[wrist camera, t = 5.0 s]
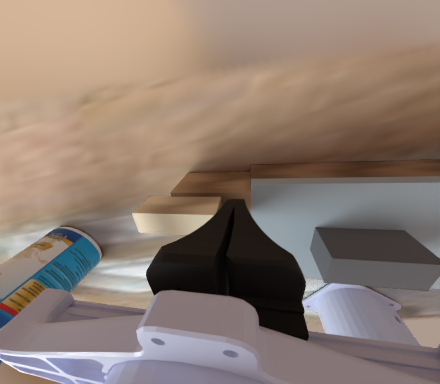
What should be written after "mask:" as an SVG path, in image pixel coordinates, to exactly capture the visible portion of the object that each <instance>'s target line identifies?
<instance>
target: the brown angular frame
mask: <svg viewBox="0 0 440 384" xmlns="http://www.w3.org/2000/svg"><path fill="white" fill-rule="evenodd" d="M419 176H440V159H436V160H400V161H365V162H329V163H294V164H258V165H250V171H249V172H202V173H187V175H186V176H185V177H184V178H183V179H182V180H181V181H180V183H179V184H178V185H177V186H176V187H175V188H174V189H173V190H172V192H171V196H172V197H221V204H222V206H223V204H224V203H225V202H226V201H227V199H244V200H245V203H246V206H247V208H248V210H249V212H250V214H251V179H274V178H347V177H419Z"/></svg>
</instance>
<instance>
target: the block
mask: <svg viewBox="0 0 440 384" xmlns="http://www.w3.org/2000/svg"><path fill="white" fill-rule="evenodd" d="M221 207H222V204H221V197H163V196H150V197H148V198H147V199H146V200H145V201H144V202H143V203H142V204H141V205H140V206H139V207H138V208H137V209H135V210H134V211H133V212H132V216H133V218H134V221H135V223H136V226H137V228H138V231H139V233H152V234H174V235H189V234H190V233H192V232H194V231H195V230H197V229H198V228H200V227H201V226H202V225H204V224H205V223H206V222H207V221H209V220H210V219H211V218H212V217H213V216H214V215H215V214H216V213H217V212H218V210H219V209H220V208H221Z"/></svg>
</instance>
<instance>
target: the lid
mask: <svg viewBox="0 0 440 384" xmlns="http://www.w3.org/2000/svg"><path fill="white" fill-rule="evenodd" d="M251 216H252V217H253V219H254V220H255V222H256V223H257V225H258V226H259V227H260V228H261V229H262V230H263V232H264V233H265V234H266V235H267V236H268V237H270V238H271V239H272V240H273V241H274V242H275V243H277V244H278V245H279V246H281V247H282V248H284V249H285V250H287V251H288V252H290V253H291V254H293V255H294V257H295V259H296V261H297V262H298V264H299V266H300V268H301V270H302V273H303V275H304V278H311V279H323V281H324V283H336V284H348V285H360V286H371V287H383V288H395V289H407V290H418V291H428V290H429V289H430V288H433V289H440V176H419V177H347V178H274V179H251Z"/></svg>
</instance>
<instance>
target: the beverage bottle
mask: <svg viewBox="0 0 440 384" xmlns="http://www.w3.org/2000/svg"><path fill="white" fill-rule="evenodd" d="M101 257H102V253H101V249H100V247H99V246H98V244H97V243H96V242H95V241H94V240H93V239H92V238H91V237H90V236H89V235H87V234H86V233H84V232H82V231H80V230H78V229H75V228H71V227H59V228H56V229H54V230H52V231H51V232H49V233H48V234H47V235H45V236H44V237H43V238H41V239H40V240H38V241H37V242H35V243H34V244H32V245H31V246H29V247H28V248H26V249H25V250H23V251H22V252H20V253H18V254H17V255H15V256H14V257H12V258H11V259H9V260H8V261H6V262H4V263H3V264H1V265H0V330H1V329H2V328H3V327H4V326H5V325H7V324H8V323H9V322H10V321H11V320H12V319H13V318H14V317H15V316H16V315H18V314H19V313H20V312H21V311H22V310H23V309H24V308H25V307H26V306H27V305H29V304H30V303H31V302H32V301H33V300H34V299H35V298H36V297H37V296H38V295H40V294H41V293H42V292H43V291H44V290H45V289H47V288H52V289H60V290H65V291H67V292H70V291H71V290H72V289H73V288H74V287H75V286H76V285H77V284H78V283H79V282H80V281H81V280H82V279H83V278H84V277H85V275H86V274H87V273H88V272H90V271H91V270H92V269H93V268H94V267H95V266H96V265H97V264H98V263H99V262H100V260H101ZM1 362H2V361H1V360H0V364H1Z"/></svg>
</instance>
